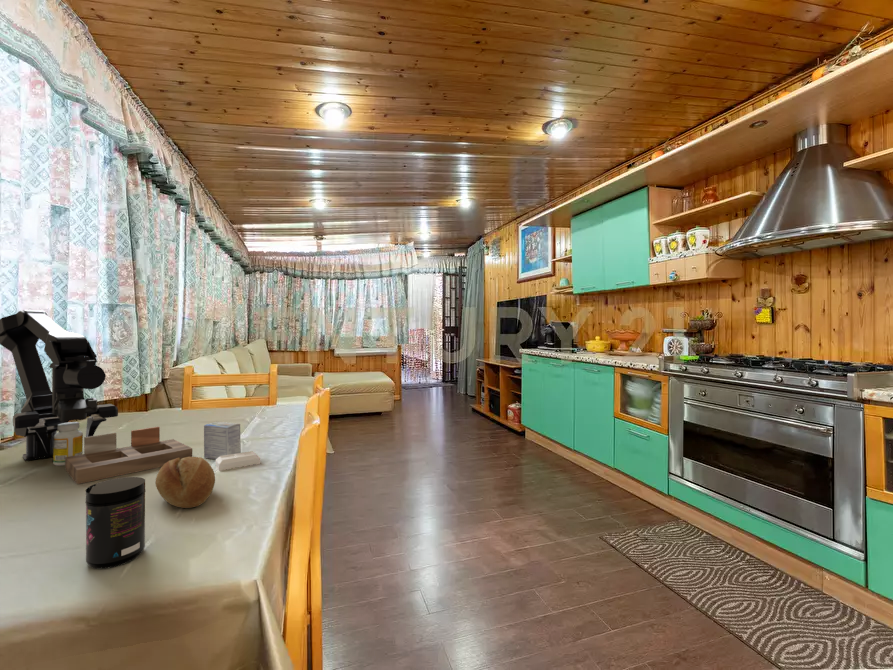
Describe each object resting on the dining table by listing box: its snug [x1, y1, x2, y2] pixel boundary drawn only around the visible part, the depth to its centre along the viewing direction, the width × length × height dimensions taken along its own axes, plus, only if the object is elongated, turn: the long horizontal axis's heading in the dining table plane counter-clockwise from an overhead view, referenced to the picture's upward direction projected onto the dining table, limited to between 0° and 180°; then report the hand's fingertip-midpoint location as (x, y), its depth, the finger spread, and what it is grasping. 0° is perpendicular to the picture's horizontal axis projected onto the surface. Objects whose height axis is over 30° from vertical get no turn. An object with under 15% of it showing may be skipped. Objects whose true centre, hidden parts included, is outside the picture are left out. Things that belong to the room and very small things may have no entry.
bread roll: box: [154, 456, 216, 509], centre depth 81 cm, size 10×15×8 cm, turn 41°
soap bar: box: [215, 450, 261, 472], centre depth 102 cm, size 5×9×3 cm, turn 127°
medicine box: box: [203, 421, 242, 460], centre depth 108 cm, size 8×4×9 cm, turn 71°
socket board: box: [64, 426, 193, 485], centre depth 102 cm, size 14×22×7 cm, turn 140°
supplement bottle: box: [52, 421, 84, 467], centre depth 103 cm, size 5×5×10 cm
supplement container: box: [85, 476, 146, 569], centre depth 60 cm, size 7×7×10 cm
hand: (68, 450), depth 103 cm, fingers open, 7 cm apart
